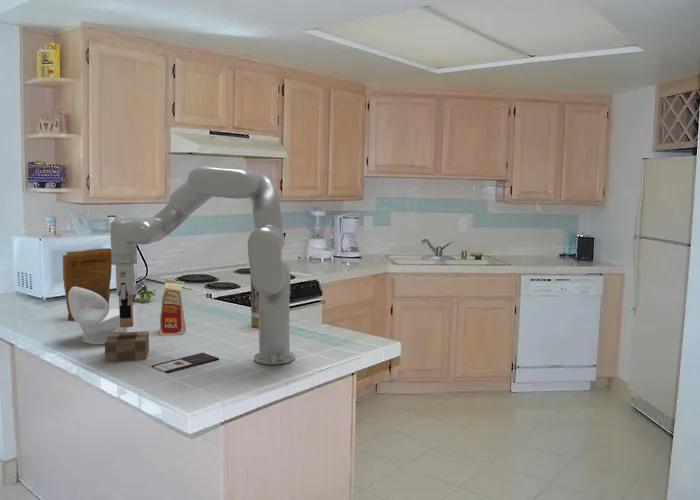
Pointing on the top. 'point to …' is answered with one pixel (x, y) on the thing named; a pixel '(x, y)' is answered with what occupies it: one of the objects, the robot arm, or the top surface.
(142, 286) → the passion flower
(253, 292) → the paper tube
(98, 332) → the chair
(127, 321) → the peg
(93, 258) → the pancake mix bag
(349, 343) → the top surface
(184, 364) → the chocolate bar
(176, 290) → the milk carton
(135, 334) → the socket block
